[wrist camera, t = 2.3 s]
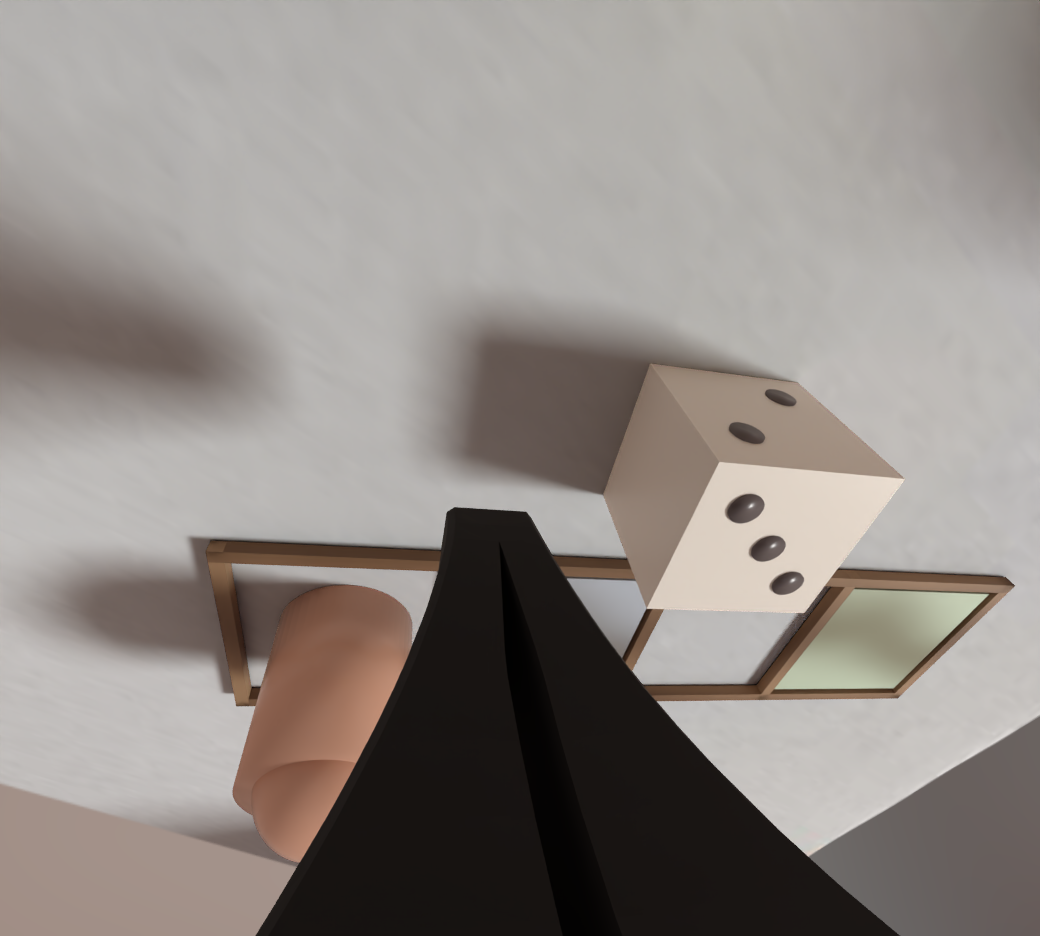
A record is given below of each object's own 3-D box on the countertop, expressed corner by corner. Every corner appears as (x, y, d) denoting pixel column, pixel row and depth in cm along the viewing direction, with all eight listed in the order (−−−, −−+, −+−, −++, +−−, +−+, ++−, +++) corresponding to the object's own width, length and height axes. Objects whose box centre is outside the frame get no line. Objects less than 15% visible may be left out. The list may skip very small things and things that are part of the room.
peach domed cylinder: (407, 666, 19) (398, 884, 14) (283, 666, 18) (225, 898, 13) (417, 587, 16) (409, 814, 11) (274, 582, 16) (200, 826, 11)
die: (731, 502, 16) (805, 614, 13) (602, 492, 15) (647, 610, 12) (797, 379, 14) (908, 478, 10) (650, 359, 13) (722, 461, 10)
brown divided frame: (891, 689, 24) (897, 698, 24) (239, 694, 18) (236, 706, 18) (1005, 577, 20) (1015, 585, 19) (210, 540, 14) (205, 551, 14)
